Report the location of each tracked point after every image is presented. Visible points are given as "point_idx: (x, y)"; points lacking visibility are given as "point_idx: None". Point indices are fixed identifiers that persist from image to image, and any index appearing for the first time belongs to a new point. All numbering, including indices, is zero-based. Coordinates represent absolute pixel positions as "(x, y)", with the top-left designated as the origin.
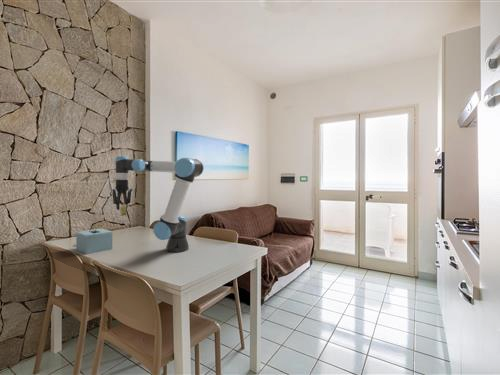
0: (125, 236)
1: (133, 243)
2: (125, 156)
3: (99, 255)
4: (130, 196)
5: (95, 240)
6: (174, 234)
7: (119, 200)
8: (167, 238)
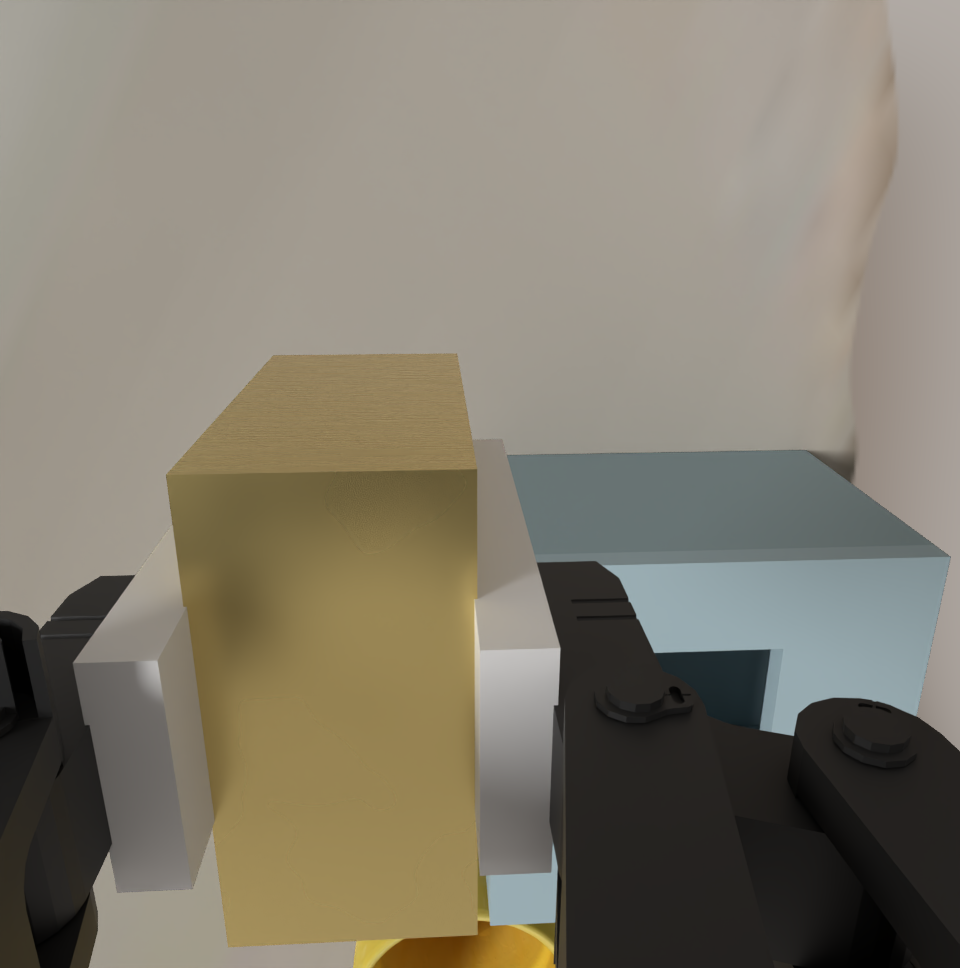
0: None
1: (118, 523)
2: None
3: (743, 268)
4: None
5: (760, 513)
6: None
7: (648, 931)
8: None
